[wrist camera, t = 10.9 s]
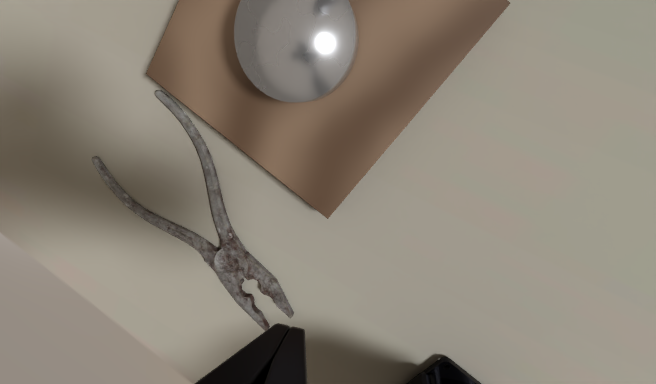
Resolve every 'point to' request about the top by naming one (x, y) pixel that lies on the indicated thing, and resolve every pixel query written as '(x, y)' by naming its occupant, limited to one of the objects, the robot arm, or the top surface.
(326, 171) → the dial plate
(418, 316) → the top surface
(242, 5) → the crank handle
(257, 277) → the pliers
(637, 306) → the top surface
